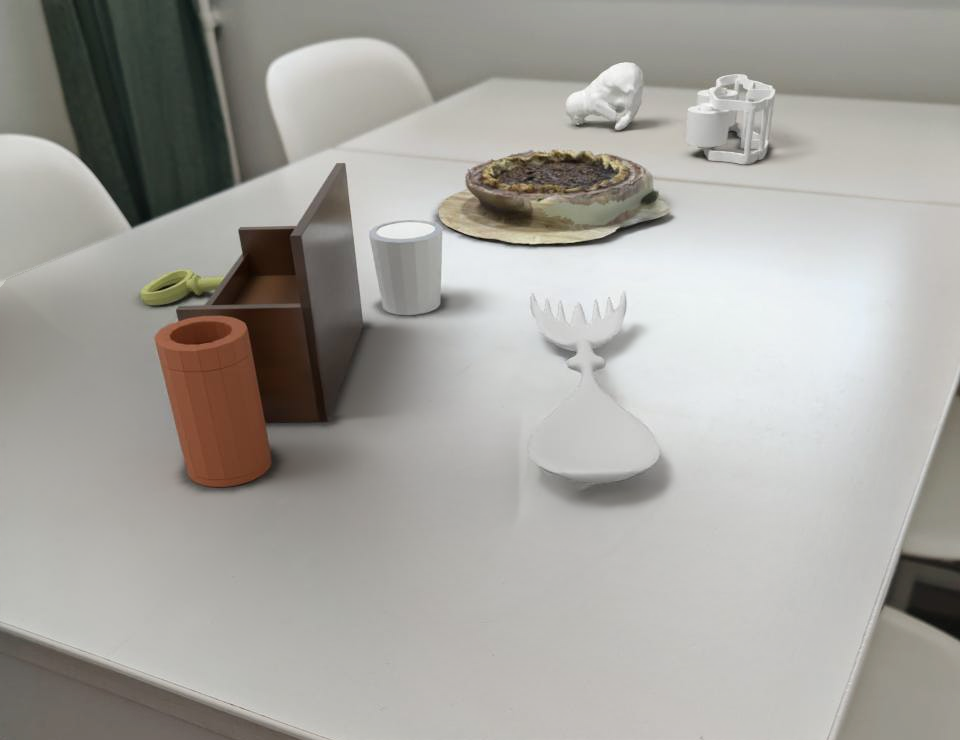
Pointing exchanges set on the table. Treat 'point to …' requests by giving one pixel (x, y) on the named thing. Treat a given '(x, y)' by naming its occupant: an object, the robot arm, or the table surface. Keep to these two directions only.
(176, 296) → the key
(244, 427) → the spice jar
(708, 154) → the white strut cage
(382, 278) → the white cup
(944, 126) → the table surface
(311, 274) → the box
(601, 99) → the white animal figurine
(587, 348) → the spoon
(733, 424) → the table surface
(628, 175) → the pie
